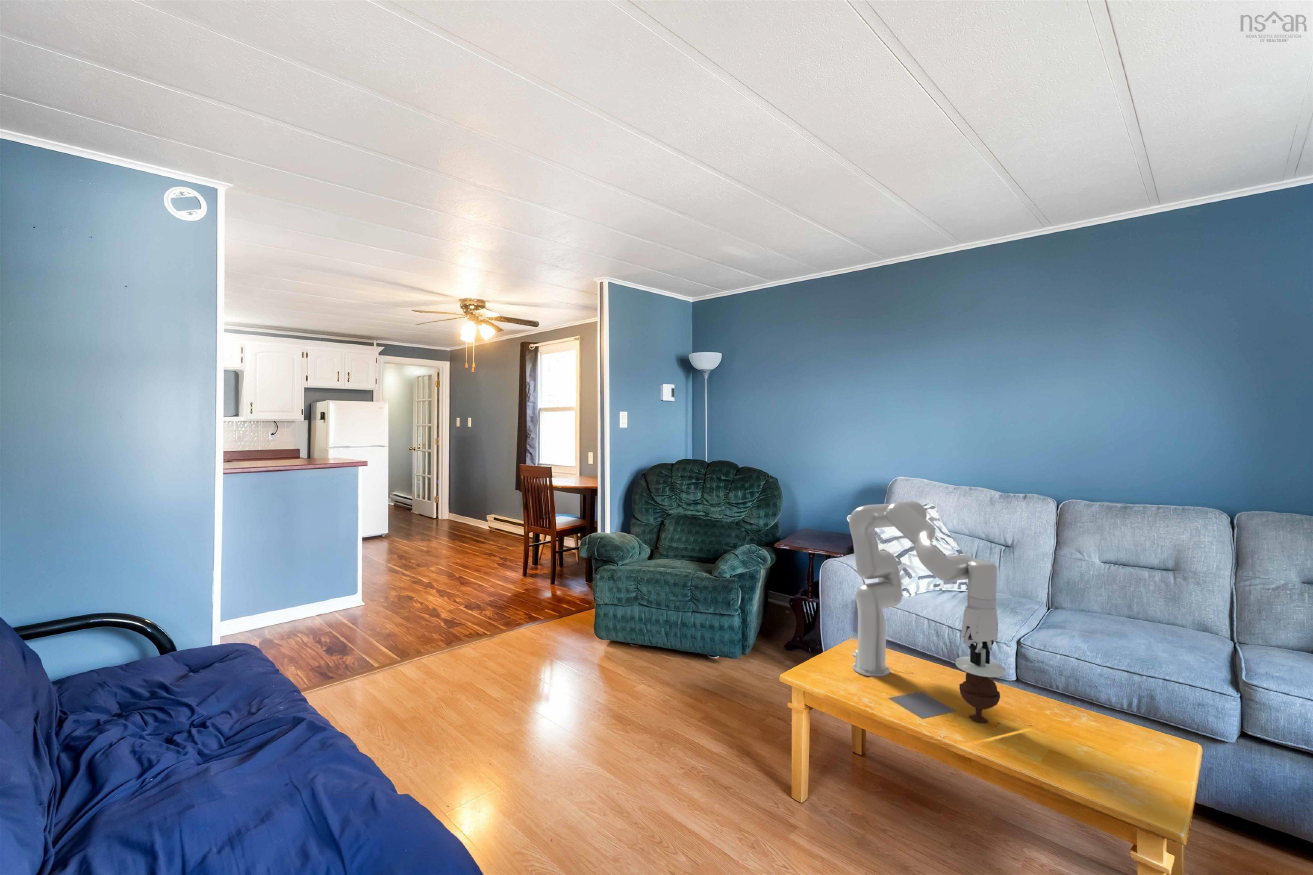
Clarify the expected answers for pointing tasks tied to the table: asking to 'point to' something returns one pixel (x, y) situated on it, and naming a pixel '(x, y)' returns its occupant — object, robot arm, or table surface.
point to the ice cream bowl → (979, 695)
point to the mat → (922, 705)
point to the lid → (981, 666)
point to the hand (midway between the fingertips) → (979, 662)
